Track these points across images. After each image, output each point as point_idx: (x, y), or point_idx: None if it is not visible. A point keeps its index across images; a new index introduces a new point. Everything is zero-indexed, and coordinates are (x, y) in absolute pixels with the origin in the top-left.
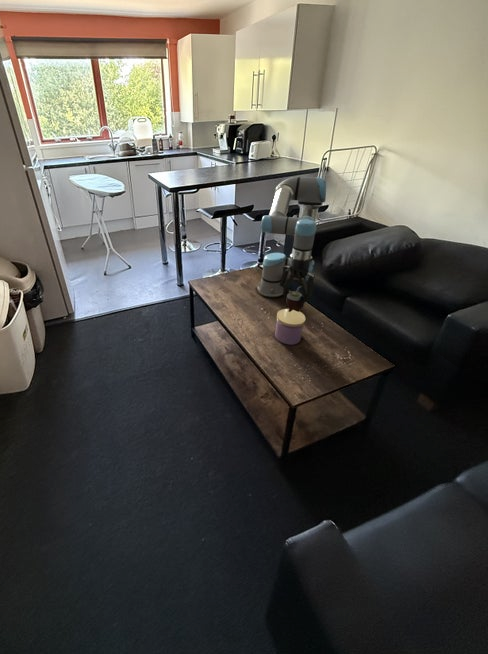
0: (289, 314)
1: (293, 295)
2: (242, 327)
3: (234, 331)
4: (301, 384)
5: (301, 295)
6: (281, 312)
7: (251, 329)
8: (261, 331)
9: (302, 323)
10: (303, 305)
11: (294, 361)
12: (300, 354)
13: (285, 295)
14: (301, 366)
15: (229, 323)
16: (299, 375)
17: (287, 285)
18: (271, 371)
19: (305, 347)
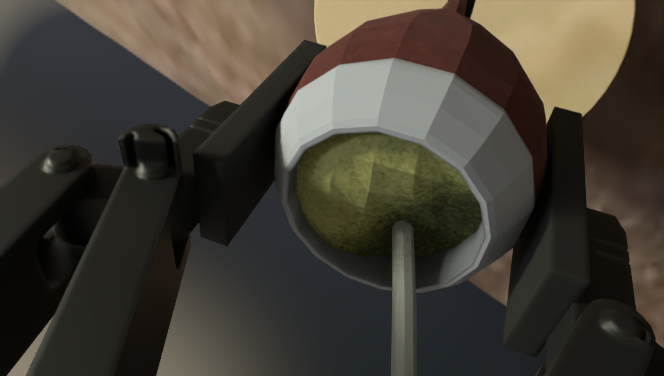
0: (430, 8)
1: (372, 221)
2: (199, 34)
3: (196, 91)
4: (647, 307)
5: (503, 204)
6: (345, 15)
7: (247, 24)
8: (304, 10)
9: (604, 88)
10: (581, 130)
11: (588, 185)
12: (621, 114)
13: (269, 181)
14: (637, 207)
15: (129, 36)
16: (631, 264)
17: (171, 307)
18: (486, 274)
19: (656, 23)
